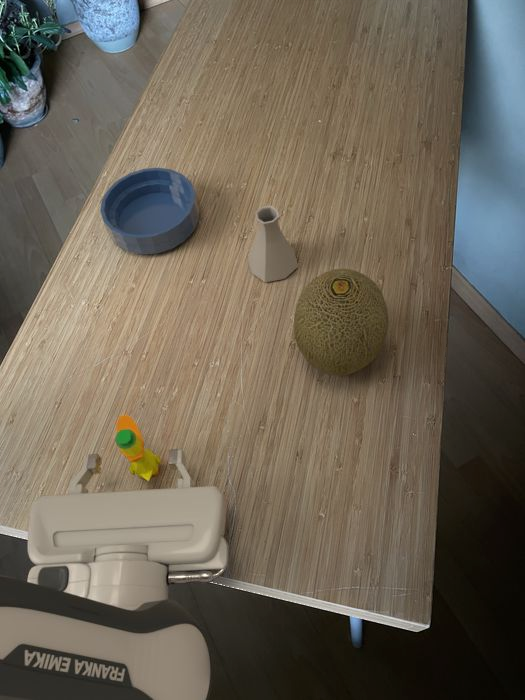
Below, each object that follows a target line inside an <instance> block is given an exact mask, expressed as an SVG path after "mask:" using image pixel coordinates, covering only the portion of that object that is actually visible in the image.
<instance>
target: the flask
mask: <svg viewBox="0 0 525 700" xmlns="http://www.w3.org/2000/svg"><path fill="white" fill-rule="evenodd" d="M254 215H255V219H256V222H257V223H258V226H257V233H256V235H255V238H254V241H253V243H252V245H251V248H250V250H249V253H248V255H247V260H248V266H249V271H250V273H251V274H252V275H254V276H255V277H257V278H258V279H259V280H260V281H262V282H263V283H268V282H269V283H270V282H276V281H279V280H285V279H286V278H287V277H289V276H290V275H291V274H292V273H293V272H295V271H296V269H298V268H299V264H298V260H297V255H296V251H295V250H294V248H293V247H292V245H291V244H290V242H289V241H288V240H287V238H286V236H285V235H284V233H283V231H282V229H281V228H280V225H279V221H280V219H281V215H280V211H279V209H278V208H277V207H275V206H274V205H272V204H268V205H264V206H261V207H259V208H258V209H257V210H256V211H255V212H254Z"/></svg>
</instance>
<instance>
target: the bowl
mask: <svg viewBox="0 0 525 700" xmlns="http://www.w3.org/2000/svg"><path fill="white" fill-rule="evenodd" d="M100 204H101V205H100V209H99V210H100V215H101V218H102V221H103V224H104V226H105V229H106V231H107V232H108V235H109V237H110V239H111V240H112V241H113V243H114V244H115V245H116V246H118V247H119V248H121V249H123V250H125V251H126V252H129V253H133V254H138V255H153V254H160V253H165V252H166V251H170V250H172V249H175V248H176V247H178V246H179V245H181V244H183V243H184V242H185V241H186V240H187V239H188V238H190V236H191V235H192V234H193V233H194V231H195V230H196V227H197V225H198V223H199V220H200V206H199V202H198V198H197V195H196V190H195V189H194V186H193V184H192V182H191V181H190V179H188V178H187V177H186V176H185V175H184V174H182V173H181V172H178V171H176V170H173V169H171V168H163V167H150V168H142V169H139V170H136V171H132V172H129V173H128V174H126V175H124V176H122V177H121V178H119V179H117V180H116V181H115V182H114V183H113V184H112V185H111V186H110V187H109V188H108V189H107V191H106V192H105V193H104V196H103V197H102V199H101V203H100Z"/></svg>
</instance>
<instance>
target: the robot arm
mask: <svg viewBox="0 0 525 700" xmlns="http://www.w3.org/2000/svg"><path fill="white" fill-rule="evenodd" d="M168 456H169V457H168V459H167V460H168V461H167V464H168V466H169V467H170V469H171V470H178V471H179V473H180V475H181V478H177V486H176V487H169V488H154V489H151V488H150V489H135V490H118V491H117V490H116V491H101V492H100V491H99V492H98V491H97V492H89V490H88V489H87V488H86V487H87V485H88V484H89V482H90V480H91V479H92V478H93V476H94V475H100V474H101V473H102V472H101V471H102V467H101V466H102V461H103V460H102V457H101V455H100V454H99V453H94V454H92V453H90V454H84V455H83V459H82V467H81V468H80V470H79V471H78V472H77V474H76V475H75V476H74V477H73V479H72V480H71V482H70V483H69V485H68V493H65V494H48V495H41V496H40V497H38V499H36V501H35V502H34V503H33V504H32V506H31V509H30V514H29V519H28V520H29V521H28V528H27V546H26V547H27V554H28V557H29V560H30V561H31V562H32V564H33V565H34V566H32V567H31V568H30V569H29V572H28V575H27V580H22V579H17V578H14V577H9V576H6V575H3V574H0V700H209V698H210V695H211V690H212V686H213V685H212V683H213V659H212V651H211V648H210V644H209V641H208V638H207V636H206V634H205V632H204V631H203V629H202V628H201V626H200V624H199V623H198V622H197V621H196V619H195V618H194V617H193V616H192V615H191V614H190V613H189V612H188V611H187V610H186V609H185V608H184V607H183V606H182V605H181V604H180V603H179V602H178V601H176V600H174V599H171V598H169V591H170V590H169V589H170V585H181V584H182V585H183V584H189V583H204V584H205V583H210V582H211V583H212V582H213V581H214V579H216V578H217V577H220V576H221V575H223V573H224V572H225V571H226V570H227V568H228V565H229V543H228V541H227V538H225V532H226V522H227V513H228V512H227V511H228V503H227V498H226V496H225V494H224V493H223V492H222V490H221V489H220V488H218V486H216V485H206V486H204V485H203V486H195V483H194V481H193V479H192V477H191V476H190V473H189V472H188V470H187V468H186V453H185V450H184V449H183V448H176V449H175V448H174V449H169V450H168ZM214 571H216V572H215V573H214Z"/></svg>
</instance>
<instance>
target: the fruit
mask: <svg viewBox="0 0 525 700" xmlns="http://www.w3.org/2000/svg"><path fill="white" fill-rule="evenodd" d="M299 295H300V296H299V297H298V299H297V302H296V307H295V311H294V317H293V333H294V340H295V341H296V344H297V347H298V349H299V352H300V353H301V354H302V356H303V358H304V359H305V360H306V361H307V362H308V364H309V365H310V366H311V367H313V368H314V369H316V370H318V371H320V372H322V373H324V374H326V375H331V376H335V377H341V376H342V377H344V376H348V375H351V374H354V373H356V372H358V371H360V370H361V369H364V368H365V367H366V366H368V365H369V364H370V363H371V362H373V360H375V359H376V357H378V355H379V354H380V352H381V351H382V349H383V346H384V344H385V341H386V338H387V334H388V328H389V324H390V323H389V310H388V307H387V303H386V300H385V297H384V294H383V292H382V290H381V289H380V287H379V286H378V285H377V283H376V282H374V280H372V279H371V278H370V277H369V276H368V275H366V274H364V273H362V272H361V271H358V270H354V269H350V268H335V269H331V270H328V271H325V272H323V273H321V274H319V275H317V276H315V277H314V278H312V279H311V281H310V282H309V283H308V284H307V285H305V287H304V289H303V290H302V292H301V293H300V294H299Z"/></svg>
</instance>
